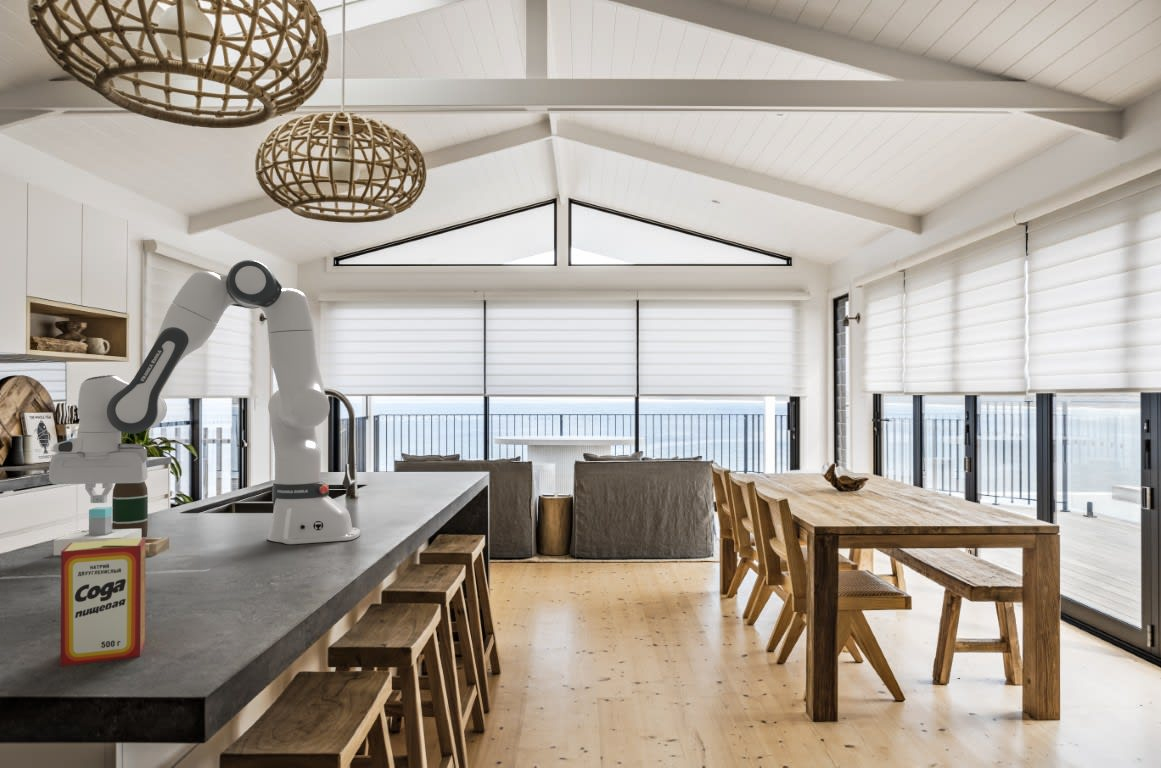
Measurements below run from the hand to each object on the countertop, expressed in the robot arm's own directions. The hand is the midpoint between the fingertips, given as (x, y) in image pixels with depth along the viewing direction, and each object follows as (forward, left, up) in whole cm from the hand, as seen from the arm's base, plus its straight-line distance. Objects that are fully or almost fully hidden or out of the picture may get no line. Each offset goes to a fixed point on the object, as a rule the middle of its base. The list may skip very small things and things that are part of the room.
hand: (98, 502), depth 181 cm
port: (0, 0, -11) cm, 11 cm away
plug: (0, 0, -10) cm, 10 cm away
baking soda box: (-33, +78, -12) cm, 85 cm away
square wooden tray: (-12, +6, -11) cm, 18 cm away
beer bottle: (-1, -15, -12) cm, 19 cm away
